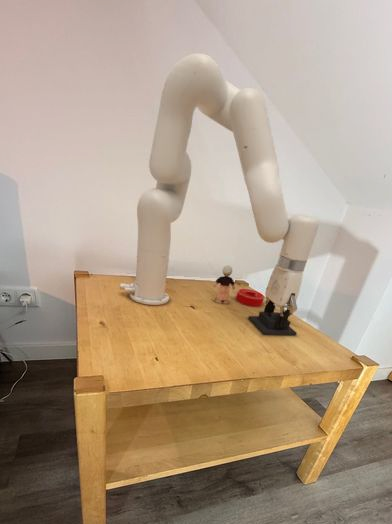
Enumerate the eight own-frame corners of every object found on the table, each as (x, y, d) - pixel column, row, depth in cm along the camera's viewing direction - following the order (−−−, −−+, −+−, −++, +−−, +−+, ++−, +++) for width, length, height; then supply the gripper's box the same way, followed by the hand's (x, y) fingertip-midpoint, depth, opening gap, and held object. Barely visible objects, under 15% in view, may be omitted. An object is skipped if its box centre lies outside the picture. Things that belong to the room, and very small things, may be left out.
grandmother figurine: (228, 299, 107) (235, 264, 101) (232, 304, 104) (241, 268, 98) (208, 299, 104) (215, 263, 98) (212, 303, 101) (220, 266, 95)
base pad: (263, 335, 86) (267, 321, 83) (247, 318, 95) (251, 305, 92) (295, 335, 89) (300, 322, 87) (277, 319, 98) (281, 307, 96)
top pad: (267, 329, 87) (270, 321, 86) (257, 318, 93) (259, 311, 92) (288, 329, 90) (290, 322, 88) (276, 319, 95) (279, 312, 94)
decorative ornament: (232, 295, 112) (234, 287, 111) (256, 297, 115) (258, 289, 113) (240, 305, 104) (243, 296, 103) (265, 307, 107) (268, 299, 105)
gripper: (264, 254, 88) (250, 310, 97) (296, 272, 74) (276, 335, 83) (286, 257, 91) (270, 311, 99) (321, 274, 76) (299, 335, 85)
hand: (273, 321), depth 91 cm, fingers closed on top pad, 7 cm apart
